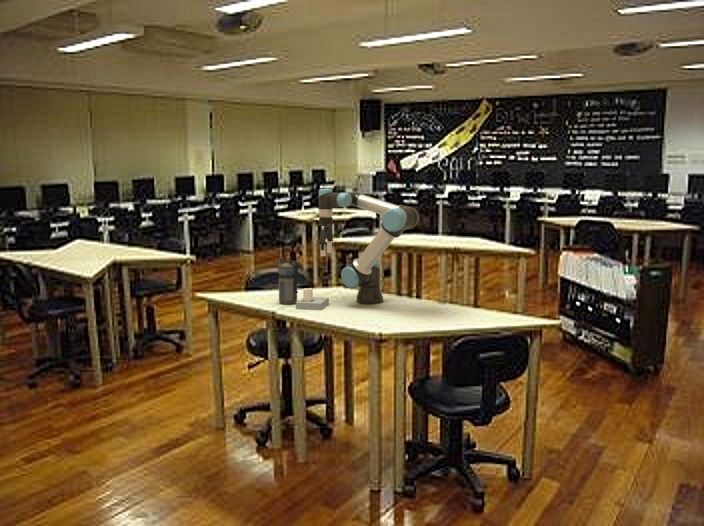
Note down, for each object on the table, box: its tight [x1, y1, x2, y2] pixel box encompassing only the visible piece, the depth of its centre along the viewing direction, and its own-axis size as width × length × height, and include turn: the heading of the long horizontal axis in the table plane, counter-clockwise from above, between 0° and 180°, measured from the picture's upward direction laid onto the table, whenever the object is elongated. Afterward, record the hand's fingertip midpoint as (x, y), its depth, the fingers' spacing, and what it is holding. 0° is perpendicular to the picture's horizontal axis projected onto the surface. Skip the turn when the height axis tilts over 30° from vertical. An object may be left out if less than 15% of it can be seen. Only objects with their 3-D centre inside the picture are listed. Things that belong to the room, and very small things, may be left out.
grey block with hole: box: [295, 296, 330, 311], centre depth 339 cm, size 14×16×4 cm
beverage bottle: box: [277, 257, 300, 305], centre depth 347 cm, size 10×13×25 cm
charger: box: [302, 287, 314, 302], centre depth 337 cm, size 4×4×10 cm
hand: (326, 254), depth 349 cm, fingers open, 13 cm apart
